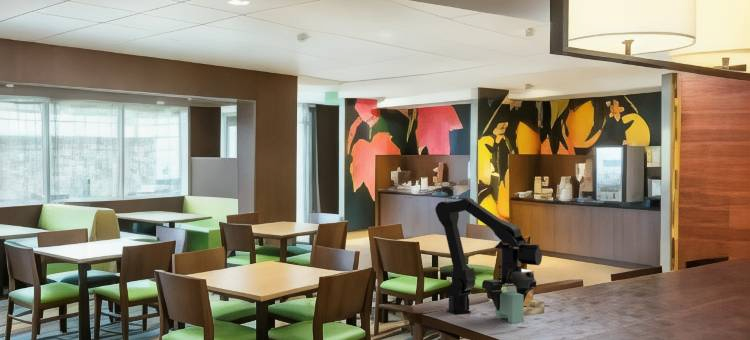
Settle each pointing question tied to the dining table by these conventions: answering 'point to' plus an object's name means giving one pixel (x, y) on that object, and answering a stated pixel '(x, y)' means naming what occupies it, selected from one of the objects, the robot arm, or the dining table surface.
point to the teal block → (511, 306)
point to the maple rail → (534, 307)
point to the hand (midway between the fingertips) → (509, 309)
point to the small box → (529, 295)
